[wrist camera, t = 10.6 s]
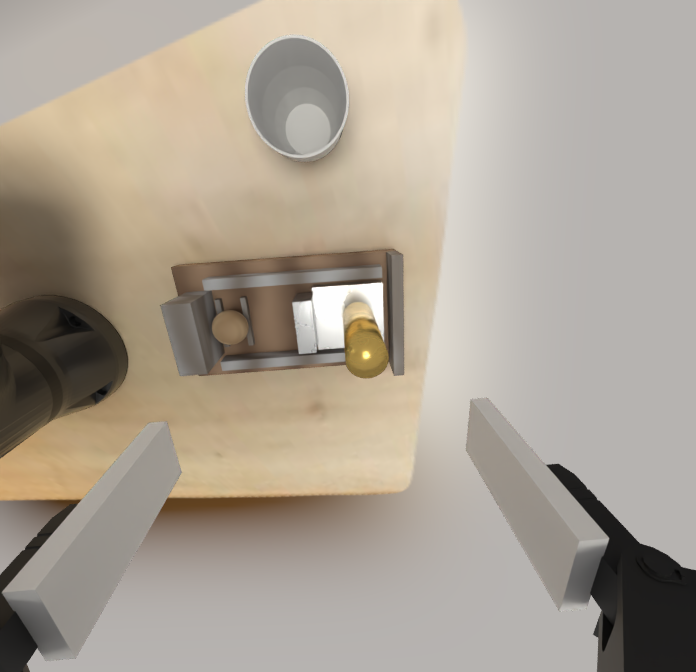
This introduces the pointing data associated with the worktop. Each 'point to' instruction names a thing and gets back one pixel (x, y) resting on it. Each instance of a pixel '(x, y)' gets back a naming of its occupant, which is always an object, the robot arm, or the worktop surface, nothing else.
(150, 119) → the worktop surface
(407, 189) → the worktop surface
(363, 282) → the lever
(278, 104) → the cup
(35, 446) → the worktop surface
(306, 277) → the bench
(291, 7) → the worktop surface
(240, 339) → the nut
